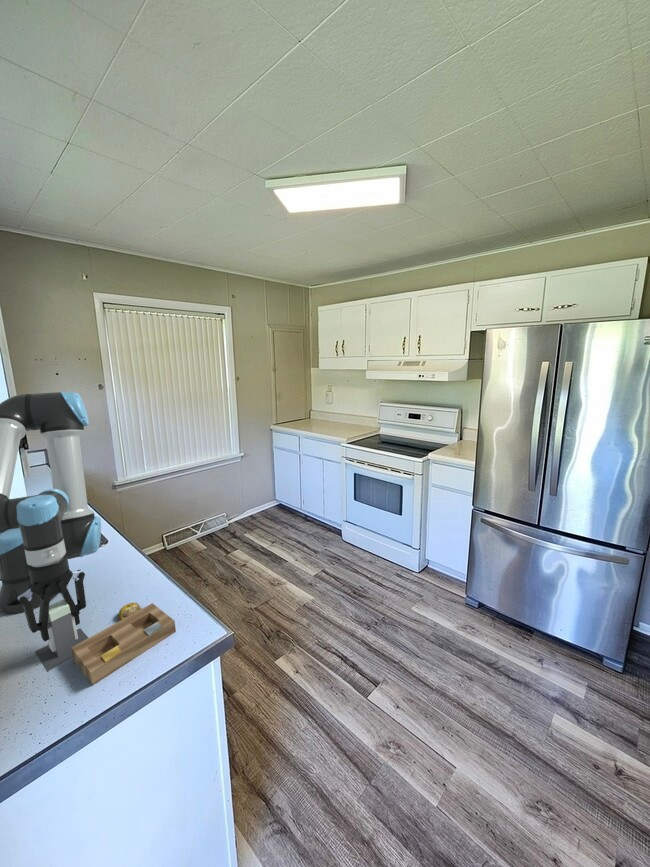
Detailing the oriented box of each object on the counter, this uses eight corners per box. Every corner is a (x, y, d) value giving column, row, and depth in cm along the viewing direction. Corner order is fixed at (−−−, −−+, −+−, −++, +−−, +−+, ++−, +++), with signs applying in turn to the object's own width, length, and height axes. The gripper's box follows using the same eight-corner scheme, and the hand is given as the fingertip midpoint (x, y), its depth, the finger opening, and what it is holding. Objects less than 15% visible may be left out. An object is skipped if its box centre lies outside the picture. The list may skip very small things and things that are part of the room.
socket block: (73, 661, 87) (71, 646, 86) (153, 615, 102) (152, 602, 101) (93, 687, 80) (90, 671, 79) (176, 633, 95) (174, 619, 94)
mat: (35, 653, 89) (34, 651, 89) (80, 629, 97) (80, 628, 97) (47, 673, 83) (47, 671, 83) (94, 646, 91) (94, 644, 91)
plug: (53, 649, 90) (44, 607, 88) (71, 639, 93) (63, 599, 91) (58, 657, 87) (49, 614, 85) (76, 646, 91) (69, 605, 88)
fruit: (123, 633, 96) (121, 622, 95) (110, 620, 101) (108, 609, 100) (153, 616, 102) (151, 605, 101) (140, 605, 107) (138, 594, 107)
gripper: (5, 582, 76) (25, 673, 81) (93, 549, 90) (106, 629, 94) (-3, 570, 81) (17, 657, 86) (82, 540, 94) (95, 617, 99)
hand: (63, 642), depth 90 cm, fingers closed on plug, 4 cm apart
